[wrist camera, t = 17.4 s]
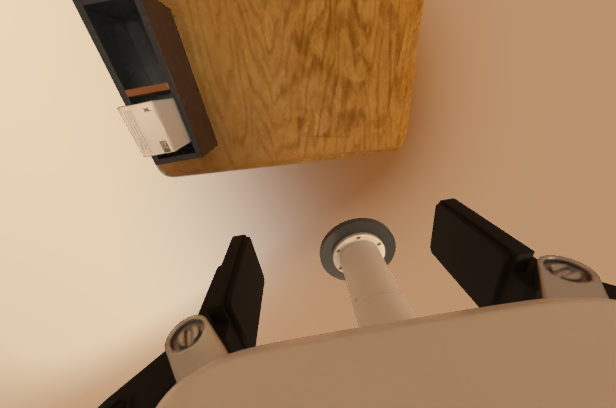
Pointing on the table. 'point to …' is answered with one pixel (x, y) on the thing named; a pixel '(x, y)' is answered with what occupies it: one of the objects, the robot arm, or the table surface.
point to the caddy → (149, 64)
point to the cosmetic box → (156, 126)
